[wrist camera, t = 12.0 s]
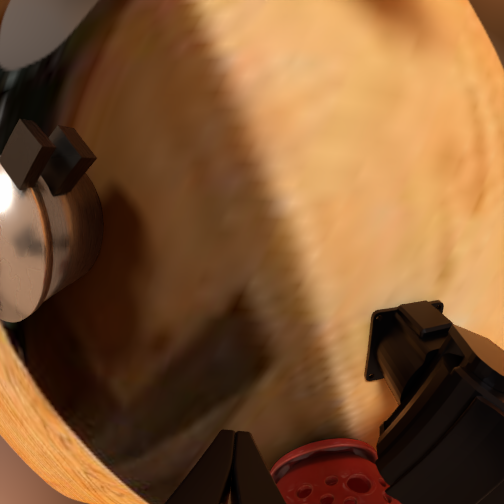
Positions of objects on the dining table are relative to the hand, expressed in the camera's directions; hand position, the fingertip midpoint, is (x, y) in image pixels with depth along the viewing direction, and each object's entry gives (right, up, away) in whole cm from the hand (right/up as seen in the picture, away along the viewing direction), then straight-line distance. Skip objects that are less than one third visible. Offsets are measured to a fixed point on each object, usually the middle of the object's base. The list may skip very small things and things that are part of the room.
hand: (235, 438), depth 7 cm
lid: (-18, +4, +6) cm, 19 cm away
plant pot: (+8, -18, +18) cm, 26 cm away
